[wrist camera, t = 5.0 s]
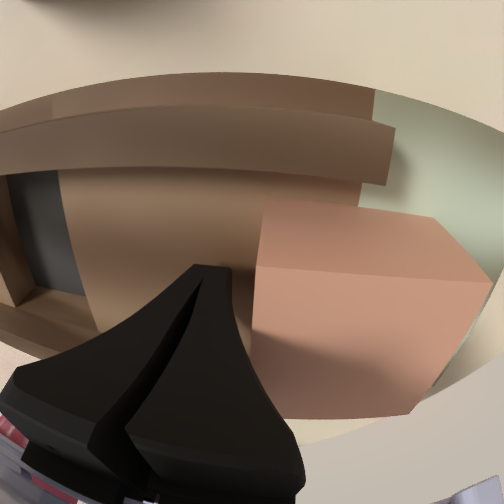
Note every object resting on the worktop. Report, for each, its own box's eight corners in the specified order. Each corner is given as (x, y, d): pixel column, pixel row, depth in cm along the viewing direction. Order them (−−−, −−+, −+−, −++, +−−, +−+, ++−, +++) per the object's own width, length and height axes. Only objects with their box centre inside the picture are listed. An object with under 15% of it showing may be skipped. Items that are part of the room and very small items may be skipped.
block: (387, 340, 12) (408, 414, 8) (255, 333, 12) (245, 415, 9) (433, 217, 9) (493, 283, 5) (265, 197, 9) (256, 265, 6)
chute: (420, 351, 16) (441, 412, 12) (33, 304, 18) (-2, 347, 13) (499, 135, 9) (570, 166, 5) (-12, 119, 11) (-72, 142, 6)
